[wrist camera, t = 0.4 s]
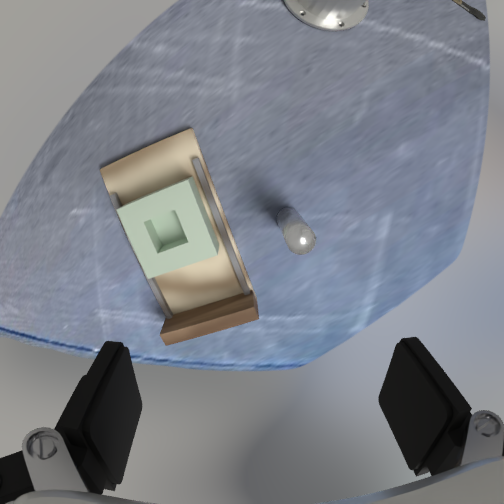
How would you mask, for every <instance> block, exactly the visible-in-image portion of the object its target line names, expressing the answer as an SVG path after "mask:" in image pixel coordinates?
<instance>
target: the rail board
mask: <svg viewBox="0 0 504 504" xmlns="http://www.w3.org/2000/svg"><path fill="white" fill-rule="evenodd" d="M100 172H101V174H102V177H103V180H104V182H105V185H106V187H107V190H108V192H109V195H110V198H111V201H112V203H113V206H114V208H115V211H116V213H117V209H119V208H120V207H122V206H123V205H125V204H127V203H129V202H131V201H133V200H136V199H138V198H140V197H143V196H145V195H147V194H150V193H152V192H155V191H157V190H159V189H162V188H164V187H167V186H169V185H172V184H174V183H177V182H179V181H182V180H184V179H187V178H189V177H192V176H193V178H194V181H195V183H196V186H197V188H198V191H199V194H200V196H201V199H202V201H203V204H204V207H205V209H206V212H207V214H208V217H209V219H210V222H211V224H212V227H213V230H214V232H215V235H216V237H217V240H218V242H219V251H218V255H217V256H214V257H211V258H208V259H205V260H202V261H199V262H196V263H193V264H191V265H188V266H185V267H182V268H179V269H176V270H173V271H170V272H167V273H164V274H162V275H159V276H156V277H153V278H150V279H148V278H147V276H146V274H145V272H144V270H143V268H142V266H141V264H140V262H139V260H138V258H137V255H136V253H135V251H134V249H133V247H132V245H131V242H130V240H129V238H128V236H127V233H126V231H125V229H124V227H123V224H122V222H121V220H120V217H119V215H118V213H117V215H118V218H119V220H120V222H121V225H122V227H123V229H124V231H125V234H126V236H127V238H128V240H129V243H130V245H131V247H132V249H133V251H134V254H135V256H136V258H137V260H138V262H139V264H140V266H141V268H142V270H143V272H144V275H145V277H146V279H147V281H148V283H149V285H150V287H151V289H152V291H153V293H154V295H155V297H156V299H157V301H158V302H159V304H160V306H161V308H162V310H163V312H164V314H165V316H166V319H165V322H164V324H163V327H162V330H161V332H160V336H161V338H162V340H163V342H164V343H165V345H170V344H174V343H178V342H182V341H185V340H189V339H193V338H196V337H200V336H203V335H207V334H210V333H214V332H217V331H221V330H224V329H228V328H231V327H234V326H238V325H241V324H244V323H248V322H251V321H254V320H257V319H259V315H258V306H257V297H256V294H255V292H254V289H253V287H252V284H251V282H250V279H249V276H248V274H247V271H246V269H245V266H244V263H243V261H242V258H241V256H240V253H239V250H238V248H237V245H236V242H235V240H234V237H233V235H232V232H231V229H230V227H229V224H228V221H227V219H226V216H225V213H224V211H223V208H222V206H221V203H220V200H219V198H218V195H217V192H216V190H215V187H214V184H213V182H212V179H211V176H210V174H209V171H208V168H207V166H206V163H205V160H204V158H203V155H202V152H201V149H200V147H199V144H198V141H197V139H196V136H195V133H194V131H193V128H191V129H188V130H186V131H183V132H181V133H178V134H176V135H173V136H171V137H168V138H166V139H164V140H161V141H159V142H157V143H154V144H152V145H150V146H148V147H145V148H143V149H141V150H139V151H137V152H135V153H132V154H130V155H128V156H126V157H124V158H122V159H120V160H118V161H116V162H114V163H112V164H110V165H108V166H106V167H104V168H102V169H100Z"/></svg>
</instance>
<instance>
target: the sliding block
mask: <svg viewBox="0 0 504 504" xmlns="http://www.w3.org/2000/svg"><path fill="white" fill-rule="evenodd" d="M117 213H118V215H119V217H120V220H121V222H122V224H123V227H124V229H125V231H126V233H127V236H128V238H129V240H130V242H131V245H132V247H133V249H134V251H135V253H136V255H137V258H138V260H139V262H140V264H141V266H142V268H143V270H144V272H145V274H146V276H147V278H148V279H150V278H153V277H156V276H159V275H162V274H164V273H167V272H170V271H173V270H176V269H179V268H182V267H185V266H188V265H191V264H193V263H196V262H199V261H202V260H205V259H208V258H211V257H214V256H217V255H218V251H219V242H218V240H217V237H216V235H215V232H214V230H213V227H212V224H211V222H210V219H209V217H208V214H207V212H206V209H205V207H204V204H203V201H202V199H201V196H200V194H199V191H198V188H197V186H196V183H195V181H194V178H193V176H192V177H189V178H187V179H184V180H182V181H179V182H177V183H174V184H172V185H169V186H167V187H164V188H162V189H159V190H157V191H155V192H152V193H150V194H147V195H145V196H143V197H140V198H138V199H136V200H133V201H131V202H129V203H127V204H125V205H123V206H122V207H120V208H119V209H117Z"/></svg>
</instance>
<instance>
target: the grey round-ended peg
mask: <svg viewBox="0 0 504 504" xmlns="http://www.w3.org/2000/svg"><path fill="white" fill-rule="evenodd" d="M277 223H278V225H279V227H280V230H281V232H282V234H283V236H284V239H285V241H286V243H287V245H288V247H289V249H290V250H291V251H292V252H293V253H295V254H298V255H303V254H307V253H309V252H310V251H311V250H312V249H313V248H314V246H315V243H316V236H315V234H314V232H313V231H312V230H311V228H310V227H309V226H308V225H307V223H306V222H305V221H304V219H303V218H302V217H301V216H300V214H299V213H298V212H297V211H296V210H295V209H293V208H290V207H287V208H284V209H282V210H281V211H280V212H279V213H278V215H277Z"/></svg>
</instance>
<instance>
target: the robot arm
mask: <svg viewBox="0 0 504 504" xmlns="http://www.w3.org/2000/svg"><path fill="white" fill-rule="evenodd" d="M284 2H285V4H286V6H287V7H288V9H289V10H290V12H291V13H292V14H293V15H295V16H296V17H297V18H298V19H299V20H301V21H302V22H304V23H306V24H308V25H310V26H312V27H314V28H317V29H321V30H325V31H344V30H347V29H351V28H352V27H354V26H356V25H357V24H359V23H360V22H361V21H362V20H363V19H364V17H365V16H366V14H367V11H368V6H369V4H368V0H284ZM300 14H303V16H302V15H300ZM339 25H341V26H339ZM379 405H380V407H381V409H382V411H383V413H384V415H385V417H386V419H387V421H388V423H389V426H390V428H391V430H392V432H393V434H394V436H395V439H396V441H397V443H398V445H399V447H400V449H401V451H402V454H403V456H404V458H405V460H406V462H407V465H408V467H409V469H410V470H414V473H415V475H416V476H419V475H422V474H425V473H428V472H429V471H430V473H431V477H428V478H425V479H421V480H418V481H415V482H412V483H409V484H405V485H402V486H398V487H395V488H391V489H388V490H384V491H379V492H375V493H371V494H366V495H362V496H357V497H352V498H347V499H342V500H336V501H330V502H323V503H316V504H504V424H503V422H502V420H501V418H500V417H499V416H498V415H496V414H495V413H493V412H491V411H487V410H481V411H477V412H475V413H474V414H473V415H472V414H471V413H470V411H471V409H472V408H471V407H470V405H469V404H468V402H467V401H466V400H465V398H464V397H463V396H462V394H461V393H460V392H459V390H458V389H457V388H456V386H455V385H454V383H453V382H452V381H451V380H450V378H449V377H448V376H447V374H446V373H445V372H444V370H443V369H442V368H441V366H440V365H439V364H438V363H437V361H436V360H435V359H434V358H433V356H432V355H431V354H430V352H429V351H428V350H427V349H426V347H425V346H424V345H423V344H422V343H421V341H420V340H419V339H418V338H417V337H411V338H403V339H401V341H400V342H399V343H397V344H396V347H395V350H394V353H393V356H392V359H391V362H390V365H389V368H388V371H387V374H386V377H385V380H384V383H383V386H382V389H381V391H380V394H379ZM141 411H142V400H141V397H140V393H139V390H138V385H137V382H136V378H135V374H134V370H133V366H132V361H131V357H130V353H129V349H128V347H124V345H123V343H122V342H113V341H106V342H105V343H104V345H103V346H102V348H101V350H100V352H99V353H98V355H97V357H96V359H95V360H94V362H93V364H92V366H91V367H90V369H89V371H88V373H87V375H84V376H83V377H82V378H81V380H80V381H79V383H78V385H77V387H76V389H75V391H74V392H73V394H72V396H71V398H70V400H69V402H68V403H67V405H66V408H65V409H64V411H63V413H62V415H61V417H60V419H59V421H58V423H57V425H56V427H55V429H51V428H46V427H42V428H37V429H34V430H32V431H31V432H29V433H28V434H27V435H26V437H25V438H24V440H23V443H22V451H19V452H16V453H14V454H11V455H8V456H5V457H3V458H0V504H155V503H148V502H141V501H134V500H128V499H123V498H117V497H112V496H106V495H101V494H102V493H103V490H104V489H107V490H112V491H115V488H116V484H121V482H122V480H123V476H124V472H125V468H126V464H127V461H128V457H129V453H130V450H131V446H132V442H133V439H134V435H135V432H136V428H137V425H138V421H139V418H140V414H141Z"/></svg>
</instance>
